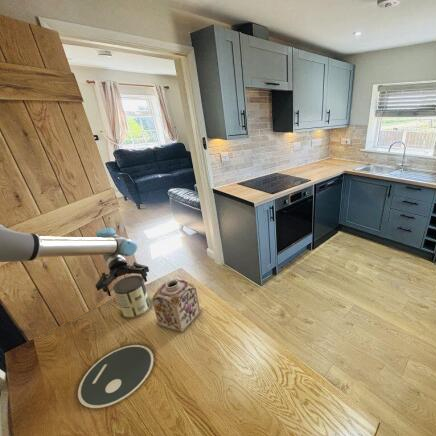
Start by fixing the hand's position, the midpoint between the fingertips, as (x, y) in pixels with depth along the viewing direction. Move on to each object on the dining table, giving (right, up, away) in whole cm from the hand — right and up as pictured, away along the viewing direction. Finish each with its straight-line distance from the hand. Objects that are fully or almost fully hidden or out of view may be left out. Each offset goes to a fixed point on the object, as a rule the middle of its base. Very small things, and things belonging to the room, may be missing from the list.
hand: (128, 286), depth 102 cm
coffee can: (+5, -10, -1) cm, 11 cm away
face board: (+15, -21, -26) cm, 37 cm away
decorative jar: (+25, -12, -5) cm, 28 cm away
